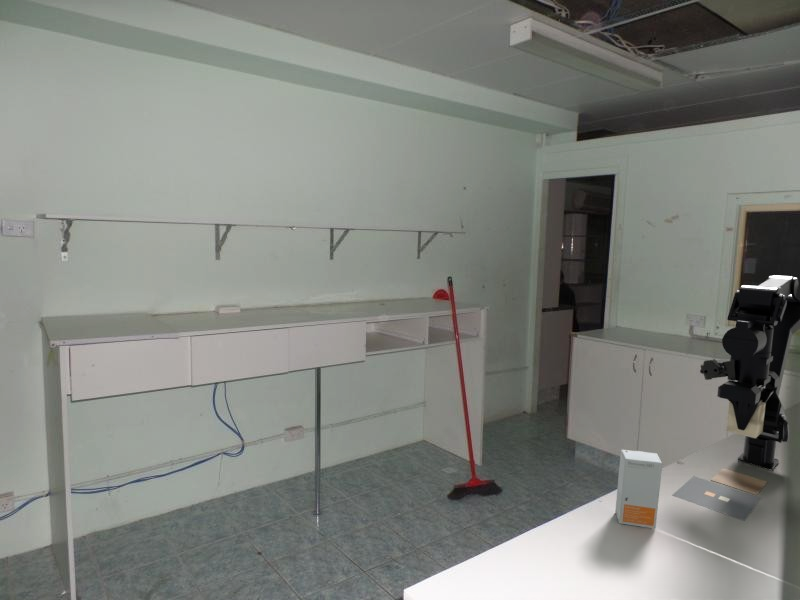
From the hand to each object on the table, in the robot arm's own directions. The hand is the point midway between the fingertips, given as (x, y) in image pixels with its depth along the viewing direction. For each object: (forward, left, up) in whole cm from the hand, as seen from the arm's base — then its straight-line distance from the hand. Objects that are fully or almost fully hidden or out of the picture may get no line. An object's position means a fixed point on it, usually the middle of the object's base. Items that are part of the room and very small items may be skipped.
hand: (745, 426), depth 106 cm
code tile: (+11, -1, -12) cm, 16 cm away
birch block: (0, 0, -1) cm, 1 cm away
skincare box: (+31, -8, -12) cm, 34 cm away
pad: (0, 0, -12) cm, 12 cm away
